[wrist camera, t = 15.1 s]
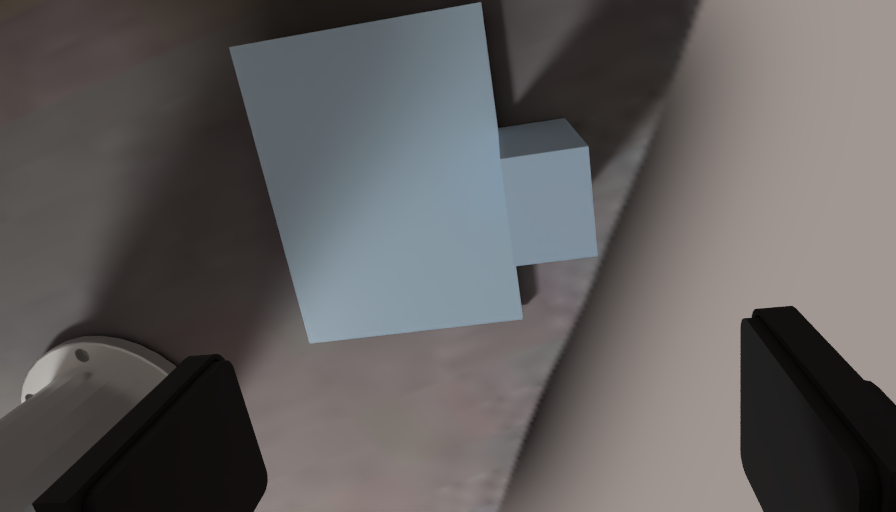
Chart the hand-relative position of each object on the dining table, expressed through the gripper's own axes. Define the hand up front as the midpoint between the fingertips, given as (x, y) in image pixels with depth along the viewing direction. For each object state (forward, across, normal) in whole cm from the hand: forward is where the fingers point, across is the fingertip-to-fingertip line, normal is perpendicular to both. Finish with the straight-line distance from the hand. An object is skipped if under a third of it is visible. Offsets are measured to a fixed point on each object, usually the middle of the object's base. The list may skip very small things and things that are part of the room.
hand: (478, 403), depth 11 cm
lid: (+19, +4, 0) cm, 19 cm away
